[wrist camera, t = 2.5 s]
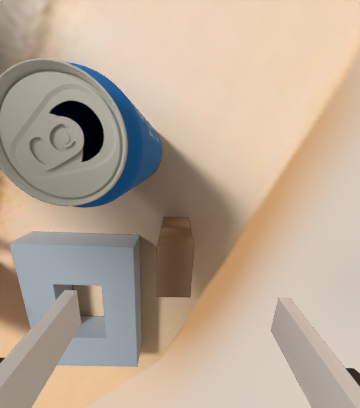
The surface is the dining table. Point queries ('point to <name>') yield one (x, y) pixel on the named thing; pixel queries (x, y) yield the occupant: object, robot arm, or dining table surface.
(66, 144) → the beverage can
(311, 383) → the robot arm
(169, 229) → the tab
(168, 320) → the dining table surface
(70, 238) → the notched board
